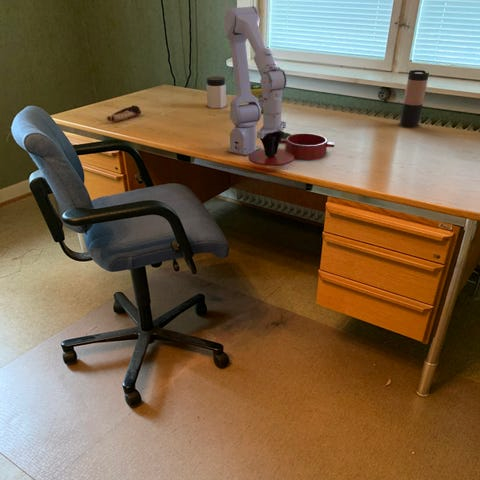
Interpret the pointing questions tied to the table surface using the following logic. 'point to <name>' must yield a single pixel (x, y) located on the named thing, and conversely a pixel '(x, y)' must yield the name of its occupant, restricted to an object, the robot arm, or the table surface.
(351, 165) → the table surface
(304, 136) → the pot
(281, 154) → the lid
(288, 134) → the cucumber
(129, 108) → the lashed bone hook
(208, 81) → the jar
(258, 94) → the crayon box
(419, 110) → the travel mug
